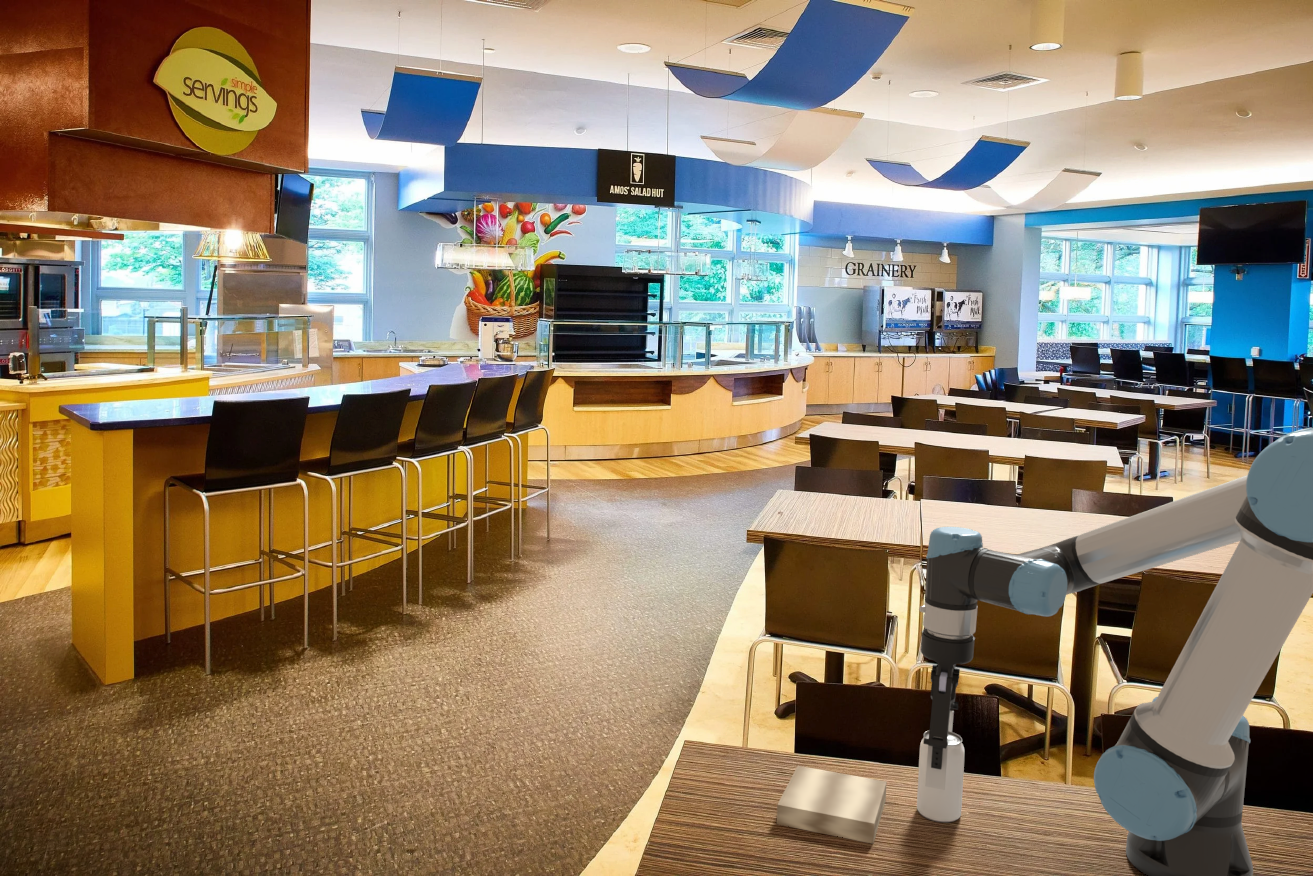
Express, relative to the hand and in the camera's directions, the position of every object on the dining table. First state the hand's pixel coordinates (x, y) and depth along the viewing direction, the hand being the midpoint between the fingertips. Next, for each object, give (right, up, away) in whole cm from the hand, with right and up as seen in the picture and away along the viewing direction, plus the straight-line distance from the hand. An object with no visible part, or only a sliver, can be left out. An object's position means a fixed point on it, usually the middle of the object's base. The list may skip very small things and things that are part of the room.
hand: (938, 767), depth 142 cm
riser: (-16, -7, 0) cm, 17 cm away
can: (0, -7, 0) cm, 7 cm away
